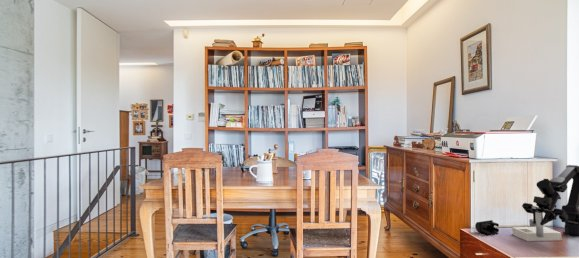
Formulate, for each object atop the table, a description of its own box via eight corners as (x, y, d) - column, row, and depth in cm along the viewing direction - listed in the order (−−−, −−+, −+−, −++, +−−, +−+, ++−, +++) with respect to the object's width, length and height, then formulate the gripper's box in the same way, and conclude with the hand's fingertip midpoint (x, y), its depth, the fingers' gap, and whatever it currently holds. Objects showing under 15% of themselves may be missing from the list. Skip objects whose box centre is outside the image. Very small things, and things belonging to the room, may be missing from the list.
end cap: (488, 230, 182) (487, 219, 182) (499, 234, 175) (499, 222, 175) (475, 232, 179) (474, 220, 179) (486, 236, 172) (485, 224, 173)
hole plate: (544, 233, 173) (544, 226, 174) (561, 240, 162) (561, 232, 163) (512, 234, 174) (512, 227, 174) (527, 241, 163) (527, 233, 163)
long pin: (540, 235, 161) (539, 211, 161) (545, 237, 158) (544, 213, 158) (534, 235, 161) (533, 211, 161) (539, 237, 158) (538, 213, 158)
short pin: (533, 231, 178) (533, 219, 178) (537, 232, 175) (537, 220, 175) (528, 231, 178) (528, 219, 178) (532, 233, 175) (532, 220, 175)
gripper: (523, 188, 170) (511, 210, 165) (563, 193, 152) (551, 219, 148) (532, 200, 173) (521, 223, 168) (573, 207, 155) (562, 232, 151)
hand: (537, 224), depth 159 cm, fingers closed on long pin, 3 cm apart
